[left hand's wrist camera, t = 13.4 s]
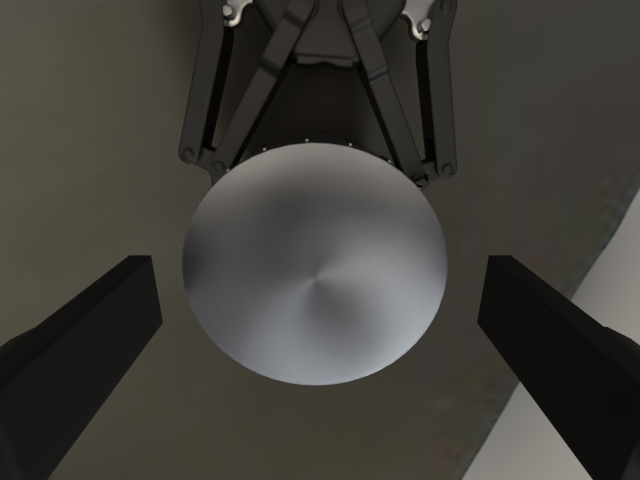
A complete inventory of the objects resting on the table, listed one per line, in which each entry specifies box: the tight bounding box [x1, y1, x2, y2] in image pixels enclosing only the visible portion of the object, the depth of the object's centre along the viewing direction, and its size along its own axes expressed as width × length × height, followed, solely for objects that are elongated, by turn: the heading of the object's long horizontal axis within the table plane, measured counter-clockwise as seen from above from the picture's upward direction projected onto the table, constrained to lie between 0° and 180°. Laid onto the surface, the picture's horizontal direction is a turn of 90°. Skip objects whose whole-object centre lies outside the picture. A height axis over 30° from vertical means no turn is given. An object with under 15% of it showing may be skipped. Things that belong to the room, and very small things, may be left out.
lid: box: [182, 136, 448, 385], centre depth 15 cm, size 10×11×2 cm
